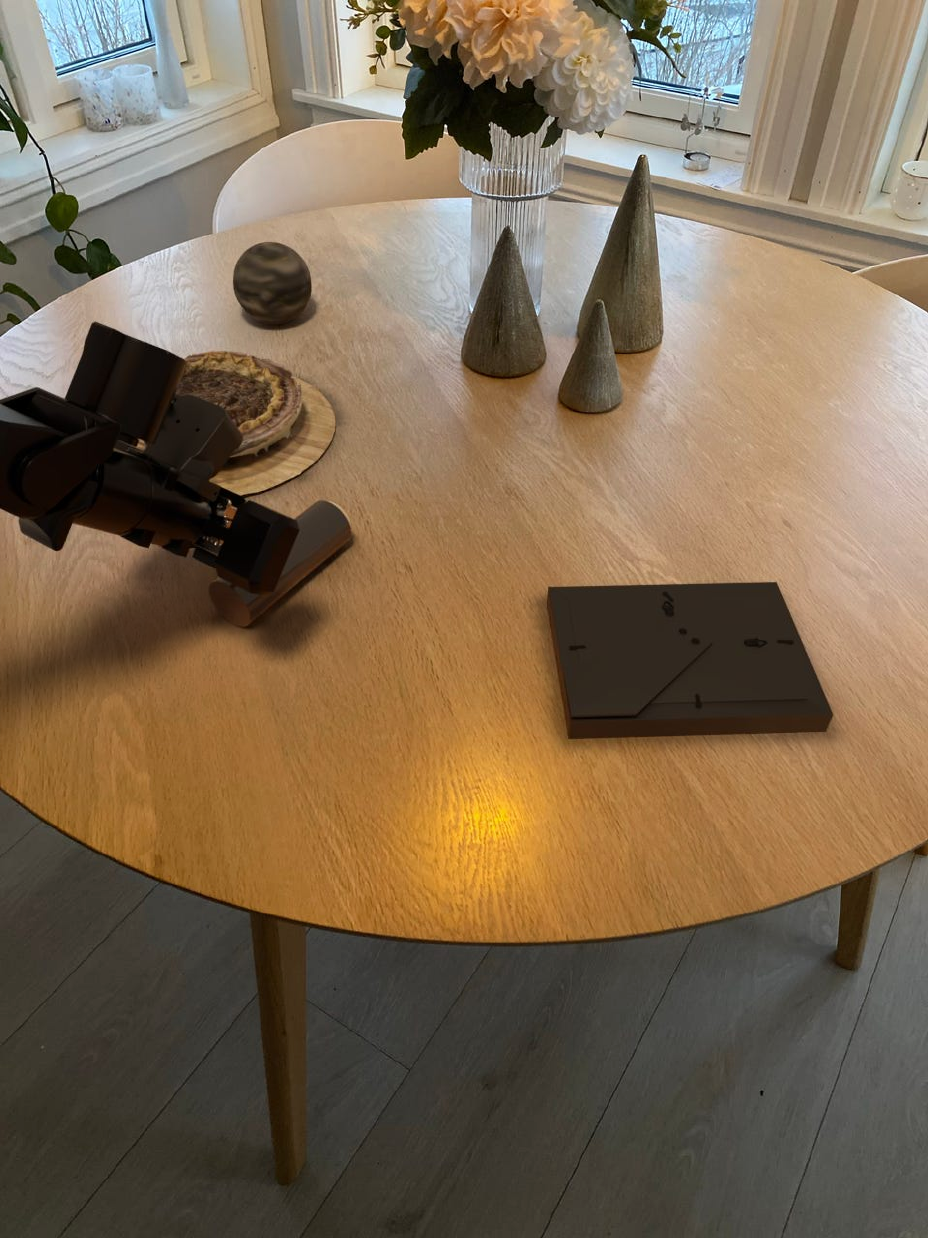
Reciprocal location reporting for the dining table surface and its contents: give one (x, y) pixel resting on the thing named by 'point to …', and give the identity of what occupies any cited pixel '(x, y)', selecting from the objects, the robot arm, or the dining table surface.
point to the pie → (261, 417)
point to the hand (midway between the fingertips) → (251, 534)
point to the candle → (288, 562)
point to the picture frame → (682, 661)
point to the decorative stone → (272, 283)
